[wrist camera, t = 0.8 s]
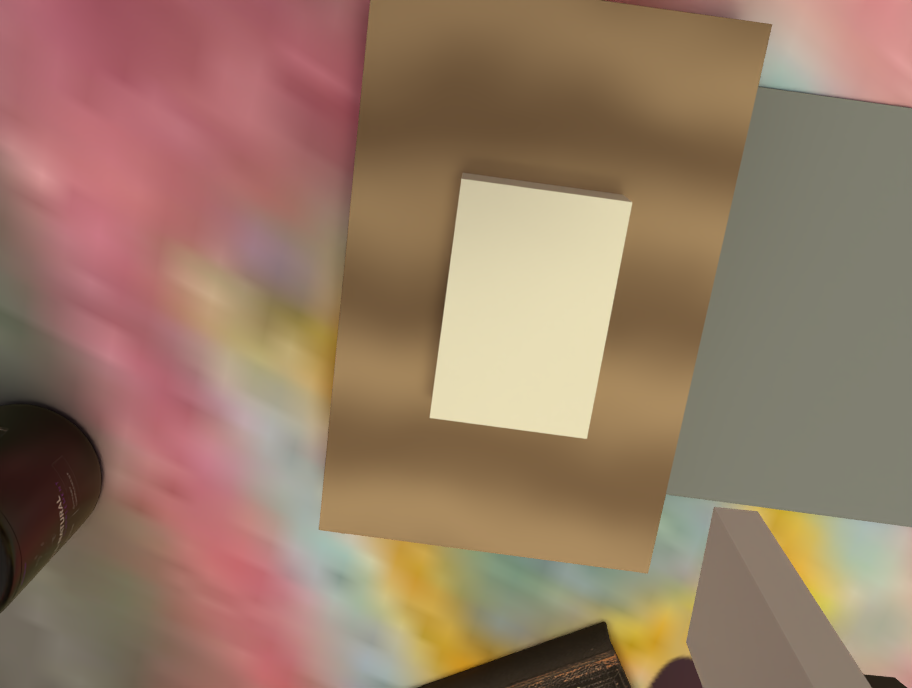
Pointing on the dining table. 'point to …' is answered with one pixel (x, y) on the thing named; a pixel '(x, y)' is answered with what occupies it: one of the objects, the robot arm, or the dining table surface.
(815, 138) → the mat
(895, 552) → the dining table surface
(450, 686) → the hardcover book
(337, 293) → the dining table surface
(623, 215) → the cream rectangular block
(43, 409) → the supplement bottle
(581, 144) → the brown wooden block
